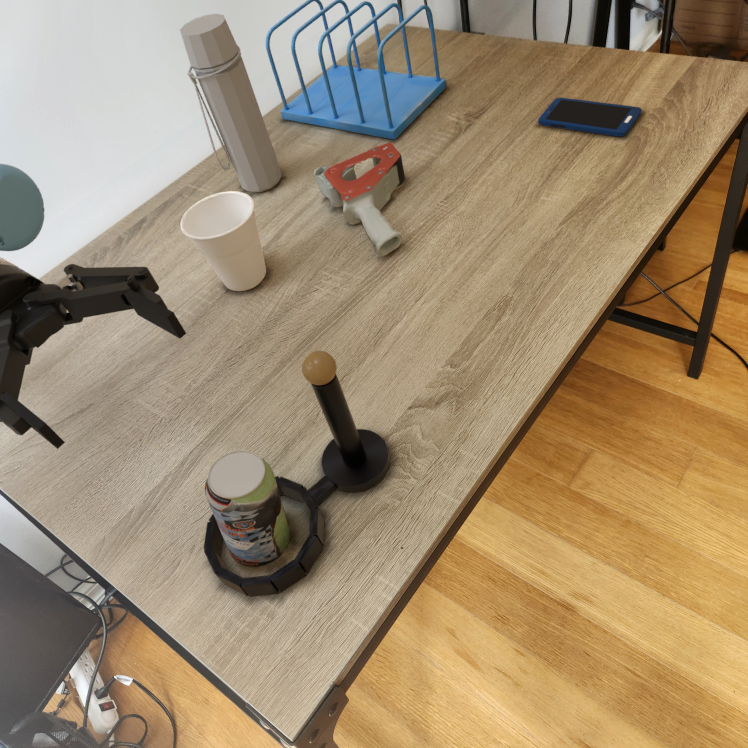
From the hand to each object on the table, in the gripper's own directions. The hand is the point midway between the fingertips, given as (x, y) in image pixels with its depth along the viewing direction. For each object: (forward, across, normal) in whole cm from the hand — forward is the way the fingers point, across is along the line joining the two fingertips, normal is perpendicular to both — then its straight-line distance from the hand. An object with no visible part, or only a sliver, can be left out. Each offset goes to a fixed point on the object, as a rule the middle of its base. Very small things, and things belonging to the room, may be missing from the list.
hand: (118, 378), depth 54 cm
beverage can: (+10, 0, -20) cm, 22 cm away
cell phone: (+4, -79, -20) cm, 82 cm away
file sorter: (-35, -71, -20) cm, 82 cm away
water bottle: (-37, -44, -20) cm, 61 cm away
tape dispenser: (-15, -46, -20) cm, 52 cm away
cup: (-21, -27, -20) cm, 40 cm away
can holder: (+10, -4, -19) cm, 22 cm away
